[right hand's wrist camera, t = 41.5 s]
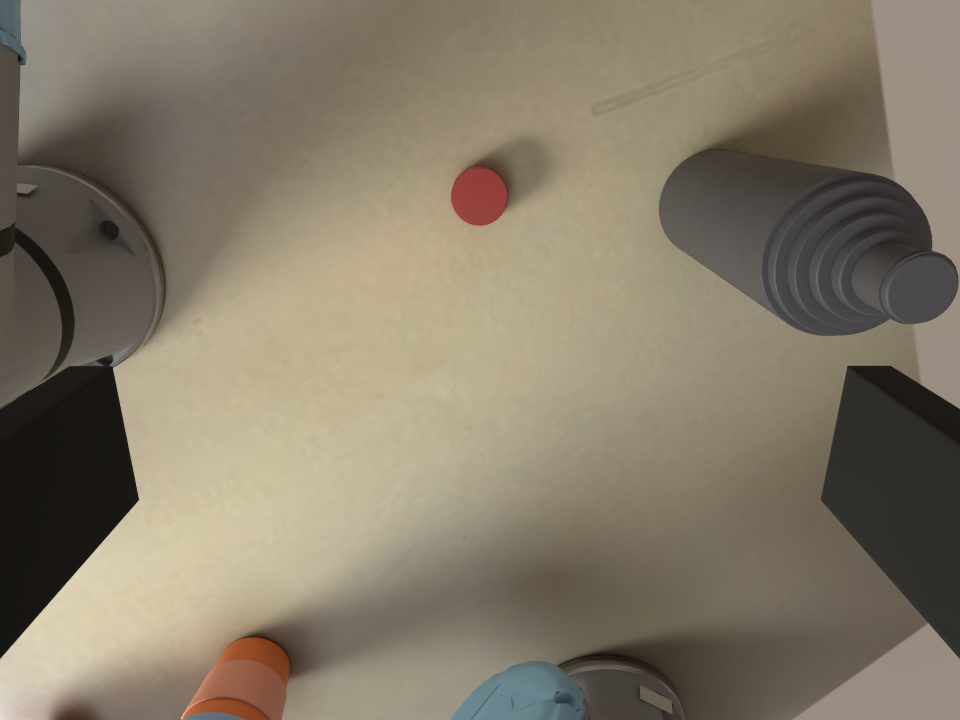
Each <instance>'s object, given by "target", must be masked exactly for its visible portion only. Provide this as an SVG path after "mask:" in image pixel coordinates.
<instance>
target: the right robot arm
mask: <svg viewBox="0 0 960 720" xmlns="http://www.w3.org/2000/svg"><path fill="white" fill-rule="evenodd" d="M25 63H26V52H25V50H24V48H23V46H22V45H21V18H20V0H0V658H1V657H2V656H3V655H4V654H5V653H6V652H7V650H8V649H9V648H10V647H11V646H12V645H13V644H14V642H15V641H16V640H17V639H18V638H19V637H20V636H21V634H22V633H23V632H24V631H25V630H26V629H27V628H28V626H29V625H30V624H31V623H32V622H33V621H34V620H35V618H36V617H37V616H38V615H39V614H40V613H41V612H42V610H43V609H44V608H45V607H46V606H47V605H48V604H49V602H50V601H51V600H52V599H53V598H54V597H55V596H56V594H57V593H58V592H59V591H60V590H61V589H62V588H63V586H64V585H65V584H66V583H67V582H68V581H69V580H70V578H71V577H72V576H73V575H74V574H75V573H76V571H77V570H78V569H79V568H80V567H81V566H82V565H83V563H84V562H85V561H86V560H87V559H88V558H89V557H90V555H91V554H92V553H93V552H94V551H95V550H96V549H97V547H98V546H99V545H100V544H101V543H102V542H103V541H104V539H105V538H106V537H107V536H108V535H109V534H110V533H111V531H112V530H113V529H114V528H115V527H116V526H117V525H118V523H119V522H120V521H121V520H122V519H123V518H124V517H125V515H126V514H127V513H128V512H129V511H130V510H131V509H132V507H133V506H134V505H135V504H136V503H137V502H138V501H139V497H138V492H137V487H136V482H135V477H134V472H133V467H132V462H131V457H130V452H129V447H128V442H127V437H126V432H125V427H124V422H123V417H122V412H121V407H120V402H119V397H118V392H117V387H116V382H115V377H114V372H113V367H115V366H117V365H118V364H120V363H122V362H123V361H125V360H126V359H127V358H129V357H130V356H132V355H133V354H134V353H136V352H137V351H138V350H139V349H140V348H141V347H142V346H143V345H144V344H145V343H146V342H147V340H148V339H149V338H150V336H151V335H152V333H153V332H154V330H155V328H156V326H157V324H158V321H159V318H160V316H161V312H162V308H163V302H164V276H163V271H162V266H161V262H160V259H159V255H158V253H157V250H156V248H155V245H154V243H153V241H152V239H151V237H150V235H149V234H148V232H147V230H146V229H145V227H144V225H143V224H142V223H141V221H140V220H139V219H138V217H137V216H136V215H135V214H134V213H133V211H132V210H131V209H130V208H129V207H128V206H127V205H126V204H125V203H124V202H123V201H122V200H121V199H120V198H118V197H117V196H116V195H115V194H113V193H112V192H111V191H109V190H108V189H107V188H105V187H104V186H102V185H101V184H99V183H97V182H95V181H94V180H92V179H90V178H88V177H86V176H83V175H81V174H79V173H76V172H73V171H70V170H67V169H63V168H59V167H54V166H47V165H23V166H17V165H18V130H19V95H20V65H25ZM40 383H41V384H40ZM37 384H40V385H38V386H36V385H37ZM34 386H36V387H35V388H33V387H34ZM31 388H33V389H32V390H30V389H31ZM14 399H16V400H14ZM13 400H14V401H13ZM11 401H12V402H11ZM10 402H11V403H10ZM8 403H9V404H8ZM7 404H8V405H7ZM5 405H6V406H5ZM2 407H3V408H2ZM821 501H822V502H823V503H824V504H825V505H826V506H827V507H828V509H829V510H830V511H831V512H832V513H833V514H834V515H835V517H836V518H837V519H838V520H839V521H840V522H841V523H842V525H843V526H844V527H845V528H846V529H847V530H848V531H849V533H850V534H851V535H852V536H853V537H854V538H855V539H856V541H857V542H858V543H859V544H860V545H861V546H862V547H863V549H864V550H865V551H866V552H867V553H868V554H869V555H870V557H871V558H872V559H873V560H874V561H875V562H876V563H877V565H878V566H879V567H880V568H881V569H882V570H883V572H884V573H885V574H886V575H887V576H888V577H889V578H890V580H891V581H892V582H893V583H894V584H895V585H896V586H897V588H898V589H899V590H900V591H901V592H902V593H903V594H904V596H905V597H906V598H907V599H908V600H909V601H910V602H911V604H912V605H913V606H914V607H915V608H916V609H917V610H918V612H919V613H920V614H921V615H922V616H923V617H924V618H925V620H926V621H927V622H928V623H929V624H930V625H931V626H932V628H933V629H934V630H935V631H936V632H937V633H938V634H939V636H940V637H941V638H942V639H943V640H944V641H945V642H946V644H947V645H948V646H949V647H950V648H951V649H952V650H953V652H954V653H955V654H956V655H957V656H958V657H959V658H960V409H959V408H957V407H956V406H954V405H952V404H951V403H949V402H948V401H946V400H944V399H943V398H941V397H940V396H938V395H936V394H935V393H933V392H932V391H930V390H928V389H927V388H925V387H924V386H922V385H920V384H919V383H917V382H916V381H914V380H912V379H911V378H909V377H908V376H906V375H904V374H903V373H901V372H899V371H898V370H896V369H895V368H893V367H891V366H848V367H847V372H846V377H845V382H844V387H843V392H842V397H841V402H840V407H839V412H838V417H837V422H836V427H835V432H834V437H833V442H832V447H831V452H830V457H829V462H828V467H827V472H826V477H825V482H824V487H823V492H822V497H821Z"/></svg>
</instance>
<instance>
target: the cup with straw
mask: <svg viewBox="0 0 960 720" xmlns="http://www.w3.org/2000/svg"><path fill="white" fill-rule="evenodd" d="M289 672H290V663H289V659H288V657H287V655H286V653H285V652H284V651H283V650H282V649H281V648H280V647H279V646H278V645H276V644H275V643H273V642H271V641H269V640H266V639H262V638H256V637H250V638H243V639H240V640H237V641H235V642H233V643H232V644H231V645H230V646H228V647H227V649H226V650H225V651H224V653H223V655H222V656H221V658H220V659H219V661H218V663H217V664H216V666H215V667H214V668H213V669H212V670H211V671H210V672H209V673H208V675H207V676H206V678H205V680H204V681H203V683H202V684H201V686H200V688H199V689H198V691H197V692H196V694H195V696H194V697H193V699H192V701H191V702H190V704H189V705H188V707H187V709H186V710H185V712H184V714H183V715H182V717H181V720H282V715H283V710H284V706H285V701H286V686H287V682H288V677H289Z"/></svg>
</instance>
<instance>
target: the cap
mask: <svg viewBox="0 0 960 720" xmlns="http://www.w3.org/2000/svg"><path fill="white" fill-rule="evenodd" d="M507 198H508V195H507V189H506V186H505V183H504V181H503V179H502V178H501V176H500V175H499V174H498V173H497V172H496V171H494V170H492V169H490V168H488V167H484V166H475V167H471V168H468V169H466V170H465V171H463V172H462V173H461V174H460V175H459V176H458V177H457V179H456V180H455V183H454V185H453V188H452V192H451V201H452V206H453V208H454V210H455V212H456V214H457V215H458V216H459V217H460V218H461V219H462V220H463V221H465V222H467V223H469V224H472V225H479V226H480V225H487V224H490V223H492V222H494V221H495V220H497V219H498V218H499V217H500V216H501V215H502V213H503V212H504V210H505V208H506V205H507Z"/></svg>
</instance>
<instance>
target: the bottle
mask: <svg viewBox="0 0 960 720" xmlns="http://www.w3.org/2000/svg"><path fill="white" fill-rule="evenodd" d="M659 215H660V221H661V224H662V227H663V230H664V232H665V234H666V235H667V237H668V238H669V239H670V241H671V242H672V243H673V244H674V245H676V246H677V247H678V248H679V249H681V250H682V251H684V252H685V253H687V254H688V255H689V256H691V257H692V258H694V259H695V260H697V261H698V262H700V263H701V264H702V265H704V266H705V267H707V268H708V269H710V270H711V271H712V272H714V273H715V274H717V275H718V276H720V277H721V278H723V279H724V280H725V281H727V282H728V283H730V284H731V285H733V286H734V287H735V288H737V289H738V290H740V291H741V292H743V293H744V294H746V295H747V296H748V297H750V298H751V299H753V300H754V301H756V302H757V303H759V304H760V305H761V306H763V307H764V308H766V309H767V310H769V311H770V312H771V313H773V314H774V315H776V316H777V317H779V318H780V319H782V320H783V321H784V322H786V323H787V324H789V325H791V326H792V327H794V328H796V329H798V330H801V331H803V332H806V333H810V334H814V335H821V336H837V335H850V334H856V333H860V332H864V331H866V330H869V329H872V328H874V327H876V326H878V325H880V324H882V323H884V322H886V321H887V320H889V319H892V320H894V321H896V322H899V323H902V324H917V323H923V322H927V321H930V320H932V319H934V318H936V317H937V316H939V315H940V314H942V313H943V312H944V311H945V310H946V309H947V308H948V307H949V306H950V304H951V303H952V301H953V300H954V298H955V296H956V293H957V289H958V273H957V270H956V267H955V265H954V264H953V262H952V261H951V260H950V259H949V258H948V257H946V256H945V255H943V254H940V253H937V252H933V251H932V235H931V230H930V226H929V223H928V220H927V217H926V216H925V214H924V212H923V210H922V208H921V207H920V206H919V205H918V203H917V202H916V201H915V199H914V198H913V197H912V195H911V194H910V193H909V192H908V191H907V190H905V189H904V188H903V187H902V186H900V185H899V184H897V183H896V182H894V181H892V180H890V179H888V178H885V177H882V176H878V175H875V174H869V173H863V172H857V171H851V170H845V169H838V168H832V167H826V166H820V165H814V164H808V163H802V162H796V161H789V160H783V159H777V158H771V157H765V156H759V155H753V154H747V153H740V152H734V151H728V150H708V151H704V152H701V153H698V154H696V155H693V156H692V157H690V158H688V159H686V160H685V161H684V162H682V163H681V164H680V165H679V166H678V167H677V168H676V169H675V170H674V171H673V172H672V174H671V175H670V177H669V178H668V180H667V181H666V183H665V185H664V188H663V191H662V193H661V198H660V204H659Z"/></svg>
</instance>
